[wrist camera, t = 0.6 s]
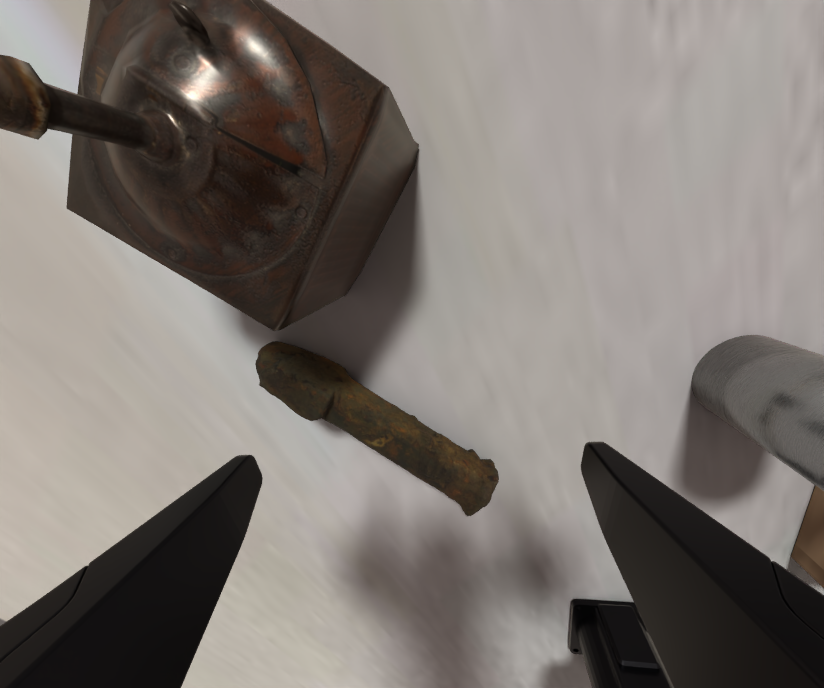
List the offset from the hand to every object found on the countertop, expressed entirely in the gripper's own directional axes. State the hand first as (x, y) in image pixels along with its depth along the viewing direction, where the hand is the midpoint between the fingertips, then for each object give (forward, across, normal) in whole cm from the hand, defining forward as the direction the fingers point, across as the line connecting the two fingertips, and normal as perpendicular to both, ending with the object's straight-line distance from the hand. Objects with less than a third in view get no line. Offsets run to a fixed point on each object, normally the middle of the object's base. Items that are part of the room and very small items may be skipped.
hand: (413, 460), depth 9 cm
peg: (+12, -20, +6) cm, 24 cm away
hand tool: (+14, +4, +9) cm, 17 cm away
